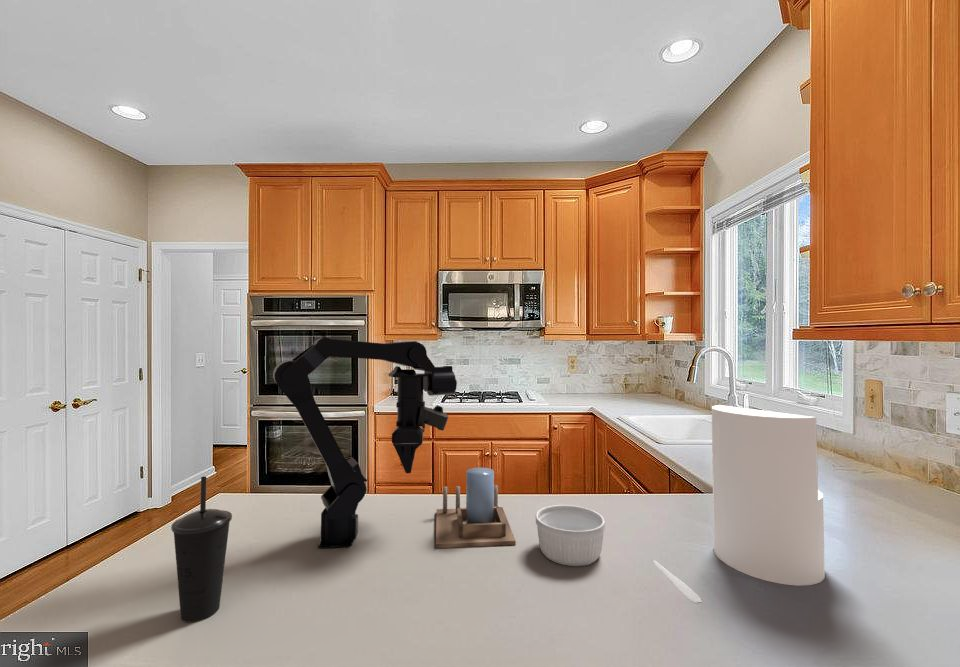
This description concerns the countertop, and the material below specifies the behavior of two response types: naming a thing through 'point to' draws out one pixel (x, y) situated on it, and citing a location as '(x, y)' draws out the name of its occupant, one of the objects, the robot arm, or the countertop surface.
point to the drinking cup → (200, 559)
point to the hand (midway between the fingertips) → (409, 466)
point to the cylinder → (767, 495)
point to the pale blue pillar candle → (479, 495)
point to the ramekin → (570, 534)
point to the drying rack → (471, 526)
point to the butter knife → (679, 584)
